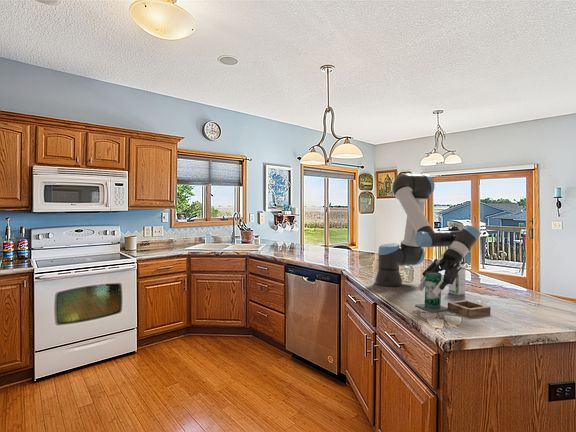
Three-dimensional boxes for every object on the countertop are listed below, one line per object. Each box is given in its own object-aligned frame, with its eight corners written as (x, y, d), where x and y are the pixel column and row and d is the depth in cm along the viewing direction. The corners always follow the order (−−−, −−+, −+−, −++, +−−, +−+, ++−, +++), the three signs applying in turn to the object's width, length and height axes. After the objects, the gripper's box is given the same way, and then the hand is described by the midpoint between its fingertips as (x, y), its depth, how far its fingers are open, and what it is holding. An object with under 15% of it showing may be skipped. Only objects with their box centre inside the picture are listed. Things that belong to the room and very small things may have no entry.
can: (422, 306, 145) (423, 272, 144) (428, 303, 149) (429, 271, 149) (436, 309, 141) (438, 275, 140) (442, 306, 145) (443, 273, 144)
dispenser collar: (447, 309, 144) (447, 302, 143) (467, 306, 147) (467, 299, 147) (470, 317, 133) (470, 309, 133) (490, 314, 137) (490, 307, 137)
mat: (415, 306, 148) (415, 304, 148) (432, 304, 151) (432, 302, 151) (432, 312, 138) (432, 311, 138) (450, 310, 142) (450, 308, 142)
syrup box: (447, 292, 172) (448, 265, 172) (456, 291, 174) (456, 264, 174) (456, 295, 167) (457, 267, 167) (465, 294, 169) (466, 266, 169)
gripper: (480, 262, 140) (450, 303, 134) (441, 256, 160) (414, 291, 154) (471, 250, 138) (440, 291, 133) (432, 245, 158) (405, 280, 153)
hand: (426, 291), depth 143 cm, fingers open, 8 cm apart
